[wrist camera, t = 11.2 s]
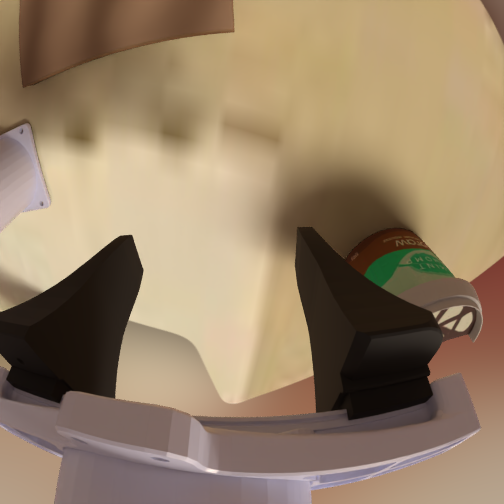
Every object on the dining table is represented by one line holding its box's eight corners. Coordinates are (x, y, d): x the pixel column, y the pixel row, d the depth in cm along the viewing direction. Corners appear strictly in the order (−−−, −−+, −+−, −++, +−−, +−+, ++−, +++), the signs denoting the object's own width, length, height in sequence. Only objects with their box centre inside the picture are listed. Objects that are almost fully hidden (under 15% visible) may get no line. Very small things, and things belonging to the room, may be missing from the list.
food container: (450, 215, 22) (511, 287, 14) (433, 266, 25) (477, 341, 17) (330, 218, 22) (370, 313, 14) (324, 276, 26) (349, 371, 18)
